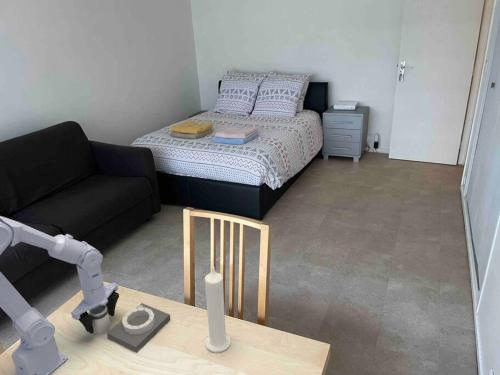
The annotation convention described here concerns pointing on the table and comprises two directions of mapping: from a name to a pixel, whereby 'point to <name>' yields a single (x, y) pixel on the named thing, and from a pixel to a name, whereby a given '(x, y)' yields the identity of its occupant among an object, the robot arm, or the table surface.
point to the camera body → (138, 327)
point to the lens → (100, 319)
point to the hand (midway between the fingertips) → (101, 323)
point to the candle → (216, 313)
